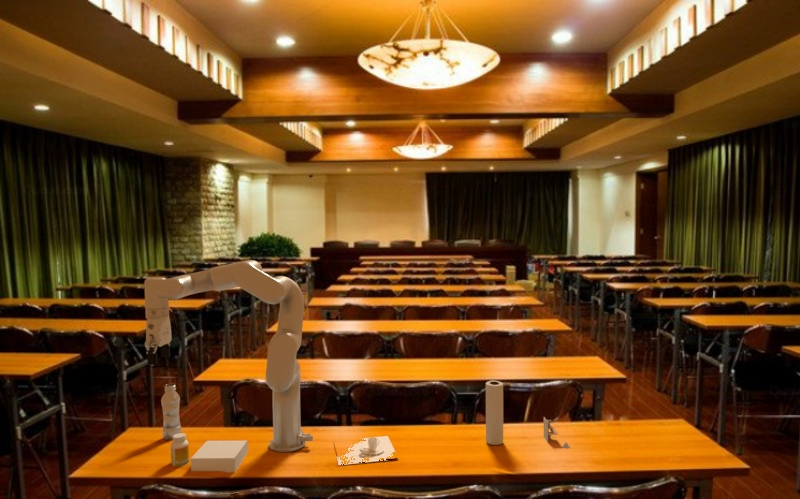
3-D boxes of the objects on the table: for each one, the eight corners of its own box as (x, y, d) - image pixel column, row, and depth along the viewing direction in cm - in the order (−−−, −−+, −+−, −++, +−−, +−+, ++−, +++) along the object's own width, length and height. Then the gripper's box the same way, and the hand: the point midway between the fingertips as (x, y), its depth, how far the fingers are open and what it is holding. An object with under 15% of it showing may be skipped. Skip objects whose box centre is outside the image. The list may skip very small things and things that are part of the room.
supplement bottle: (192, 462, 183) (191, 433, 182) (180, 469, 178) (178, 439, 177) (180, 459, 185) (179, 431, 185) (167, 466, 180) (166, 437, 180)
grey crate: (248, 454, 189) (247, 440, 189) (235, 473, 175) (234, 458, 175) (207, 455, 189) (206, 440, 189) (191, 473, 175) (190, 458, 175)
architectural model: (552, 436, 201) (552, 416, 201) (558, 444, 194) (558, 423, 194) (543, 436, 201) (543, 416, 201) (548, 444, 194) (548, 423, 194)
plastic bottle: (185, 436, 205) (183, 383, 204) (172, 443, 199) (170, 388, 198) (171, 434, 207) (169, 381, 206) (158, 441, 201) (156, 387, 200)
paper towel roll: (499, 446, 192) (499, 386, 191) (483, 443, 195) (483, 383, 194) (506, 439, 198) (506, 380, 197) (490, 436, 201) (490, 378, 200)
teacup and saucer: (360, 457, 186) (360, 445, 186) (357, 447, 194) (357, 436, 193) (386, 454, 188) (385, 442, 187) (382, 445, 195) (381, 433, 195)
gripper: (156, 317, 185) (158, 367, 185) (178, 308, 202) (180, 354, 203) (134, 317, 185) (136, 367, 186) (158, 308, 202) (160, 354, 203)
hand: (159, 360), depth 194 cm, fingers open, 9 cm apart
